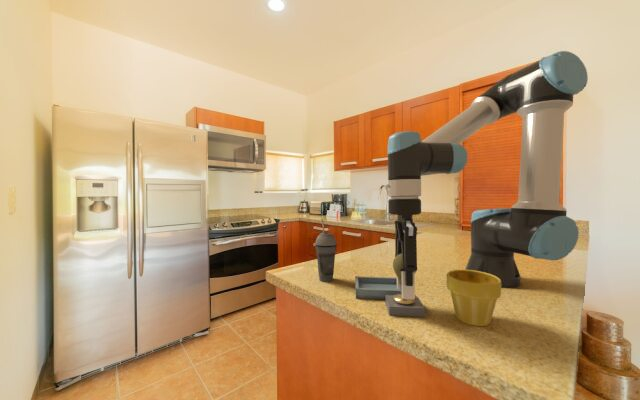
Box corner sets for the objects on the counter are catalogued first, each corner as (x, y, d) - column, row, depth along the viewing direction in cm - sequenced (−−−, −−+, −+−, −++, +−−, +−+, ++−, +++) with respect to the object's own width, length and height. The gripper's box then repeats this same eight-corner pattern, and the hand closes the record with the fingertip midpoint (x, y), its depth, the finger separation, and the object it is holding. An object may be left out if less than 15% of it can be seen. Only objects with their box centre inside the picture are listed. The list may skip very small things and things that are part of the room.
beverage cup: (335, 283, 80) (335, 220, 80) (312, 282, 82) (312, 220, 81) (338, 276, 87) (338, 218, 87) (317, 275, 89) (317, 218, 88)
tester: (417, 304, 65) (417, 293, 65) (425, 317, 58) (425, 305, 58) (385, 302, 66) (385, 292, 66) (389, 315, 59) (389, 303, 59)
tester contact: (412, 296, 64) (412, 294, 64) (417, 305, 59) (417, 302, 59) (391, 296, 65) (391, 293, 65) (395, 304, 60) (395, 301, 60)
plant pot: (479, 336, 50) (479, 286, 50) (436, 313, 60) (436, 272, 60) (511, 325, 54) (512, 279, 54) (467, 306, 64) (467, 267, 64)
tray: (398, 285, 78) (398, 277, 78) (405, 300, 67) (405, 291, 67) (355, 284, 80) (355, 276, 80) (355, 298, 69) (355, 289, 69)
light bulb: (420, 298, 59) (420, 256, 59) (396, 299, 59) (396, 256, 59) (412, 289, 65) (412, 250, 65) (390, 290, 65) (390, 251, 65)
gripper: (383, 197, 71) (384, 280, 72) (394, 198, 53) (396, 309, 53) (411, 197, 70) (412, 280, 71) (432, 198, 52) (433, 311, 52)
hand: (405, 293), depth 62 cm, fingers closed on light bulb, 6 cm apart
